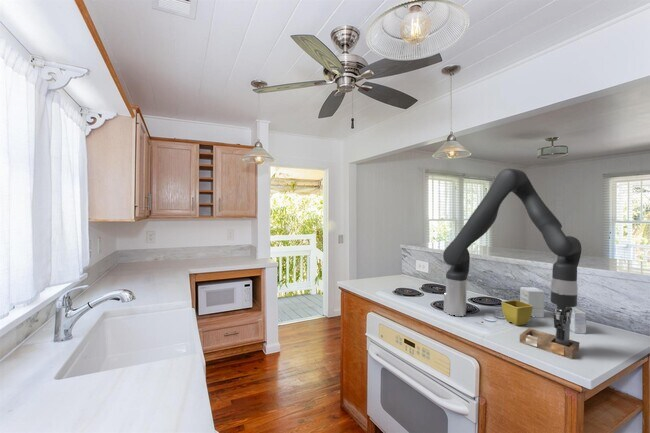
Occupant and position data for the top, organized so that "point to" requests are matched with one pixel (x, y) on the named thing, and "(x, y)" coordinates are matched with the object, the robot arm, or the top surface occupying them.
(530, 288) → the supplement box
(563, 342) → the plug
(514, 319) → the flower pot
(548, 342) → the socket block
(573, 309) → the medicine box
